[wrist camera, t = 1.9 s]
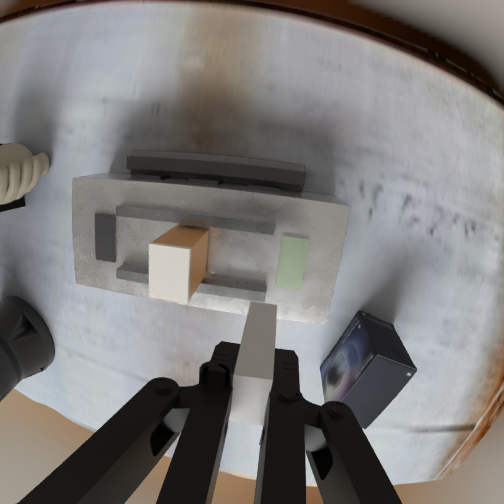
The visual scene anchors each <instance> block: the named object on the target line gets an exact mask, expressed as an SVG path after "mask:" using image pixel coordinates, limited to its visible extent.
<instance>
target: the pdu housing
mask: <svg viewBox="0 0 504 504" xmlns="http://www.w3.org/2000/svg"><path fill="white" fill-rule="evenodd" d="M349 211H350V206H349V205H348V204H346V203H345V202H343V201H342V200H340V199H339V198H337V197H336V196H331V195H325V194H319V193H312V192H305V191H302V192H301V191H294V190H287V189H280V186H275V185H267V184H259V183H250V184H249V185H247V184H238V183H229V182H223V179H213V178H203V177H193V178H189V179H188V178H176V177H170V175H167V174H153V173H143V174H136V175H133V174H126V173H102V174H95V175H88V176H81V177H75V178H73V179H72V228H73V250H74V265H75V277H76V283H78V284H82V285H86V286H91V287H96V288H100V289H105V290H109V291H114V292H119V293H124V294H129V295H134V296H139V297H144V298H149V299H155V300H160V301H166V302H171V303H177V304H183V305H188V306H194V307H200V308H207V309H213V310H219V311H226V312H232V313H239V314H246V315H247V314H248V310H249V306H250V301H253V302H260V303H268V304H275V305H277V318H276V319H284V320H292V321H300V322H309V323H318V324H326V322H327V318H328V314H329V310H330V306H331V301H332V297H333V293H334V288H335V284H336V279H337V274H338V270H339V265H340V260H341V255H342V250H343V245H344V239H345V234H346V229H347V223H348V217H349ZM174 226H185V227H193V228H201V229H209V236H208V249H207V263H206V275H205V276H204V278H203V280H202V281H201V283H200V284H199V286H198V288H197V289H196V291H195V292H194V294H193V296H192V297H191V299H190V301H189V302H188V304H184V303H179V302H173V301H167V300H162V299H156V298H151V297H149V243H151V242H152V241H154V240H155V239H157V238H158V237H159V236H161V235H162V234H164V233H165V232H167V231H168V230H170V229H171V228H173V227H174Z"/></svg>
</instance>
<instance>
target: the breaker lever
mask: <svg viewBox="0 0 504 504" xmlns="http://www.w3.org/2000/svg"><path fill="white" fill-rule="evenodd" d="M208 236H209V229H201V228H193V227H185V226H174V227H173V228H171V229H170V230H168V231H167V232H165V233H164V234H162V235H161V236H159V237H158V238H157V239H155V240H154V241H152V242H151V243H149V297H151V298H156V299H162V300H167V301H173V302H179V303H184V304H188V302H189V301H190V299H191V297H192V296H193V294H194V292H195V291H196V289H197V288H198V286H199V284H200V283H201V281H202V280H203V278H204V276H205V275H206V263H207V249H208Z"/></svg>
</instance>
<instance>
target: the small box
mask: <svg viewBox="0 0 504 504" xmlns="http://www.w3.org/2000/svg"><path fill="white" fill-rule="evenodd" d="M320 371H321V378H322V385H323V393H324V401H325V403H326V402H329V401H339V402H343V403H345V404H346V405H348V406H349V407H350V408H351V410H352V411H353V413H354V415H355V417H356V419H357V421H358V422H359V424H360V426H361V428H364V429H366V428H367V427H368V426H369V425H370V424H371V423H372V422H373V421H374V420H375V419H376V418H377V417H378V416H379V415H380V414H381V413H382V411H383V410H384V409H385V408H386V407H387V406H388V405H389V404H390V403H391V401H392V400H393V399H394V398H395V397H396V396H397V395H398V393H399V392H400V391H401V390H402V389H403V388H404V386H405V385H406V384H407V383H408V381H409V380H410V379H411V378H412V377H413V375H414V374H415V373H416V372H417V368H416V367H415V365H414V364H413V362H412V360H411V358H410V356H409V354H408V353H407V351H406V349H405V347H404V345H403V343H402V341H401V339H400V338H399V336H398V334H397V332H396V331H395V328H394V325H392V324H390V323H387V322H385V321H382V320H380V319H378V318H376V317H373V316H371V315H370V314H367V313H365V312H362V311H358V312H357V314H356V315H355V317H354V318H353V320H352V321H351V323H350V325H349V326H348V328H347V329H346V331H345V332H344V334H343V335H342V337H341V338H340V340H339V341H338V342H337V344H336V345H335V347H334V348H333V350H332V351H331V353H330V354H329V355H328V357H327V358H326V360H325V361H324V362H323V364H322V365H321V367H320Z"/></svg>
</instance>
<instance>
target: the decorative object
mask: <svg viewBox="0 0 504 504" xmlns="http://www.w3.org/2000/svg"><path fill="white" fill-rule="evenodd" d="M49 168H50V164H49V158H48V156H47V154H45V153H39V154H38V155H35V156H33V154H32V152H31V151H30V150H29V149H28V148H27V147H26V146H24V145H21V144H18V143H8V144H0V212H3V211H7V210H11V209H15V208H19V207H23V206H25V202H24V197H23V195H24V194H26V193H28V192H30V191H31V190H32V189H33V188H34V187H35V186H36V185H37V183H38V182H39V180H40V176H41V175H45V174H47V173H48V171H49Z"/></svg>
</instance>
